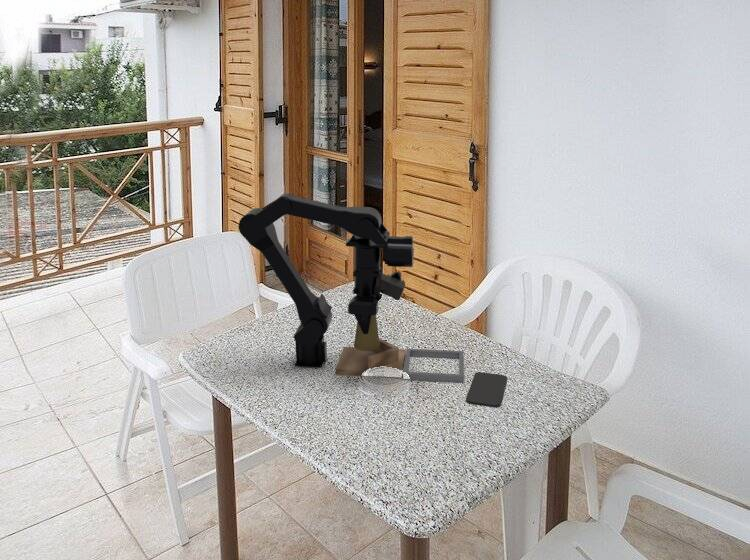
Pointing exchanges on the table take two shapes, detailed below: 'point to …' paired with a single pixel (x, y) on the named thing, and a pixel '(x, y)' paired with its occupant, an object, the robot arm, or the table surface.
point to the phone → (487, 389)
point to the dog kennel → (370, 359)
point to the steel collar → (435, 376)
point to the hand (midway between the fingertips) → (366, 329)
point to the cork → (367, 337)
